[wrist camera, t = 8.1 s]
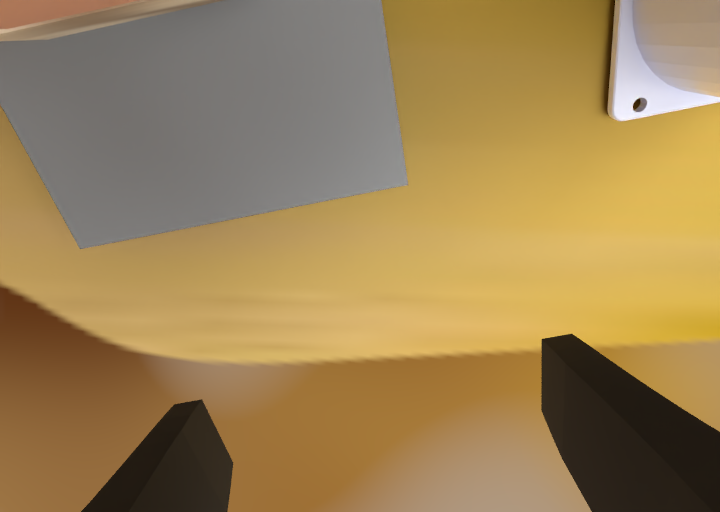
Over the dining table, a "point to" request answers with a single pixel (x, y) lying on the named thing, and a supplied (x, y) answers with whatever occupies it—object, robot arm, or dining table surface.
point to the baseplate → (207, 114)
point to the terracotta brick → (47, 10)
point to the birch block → (97, 19)
